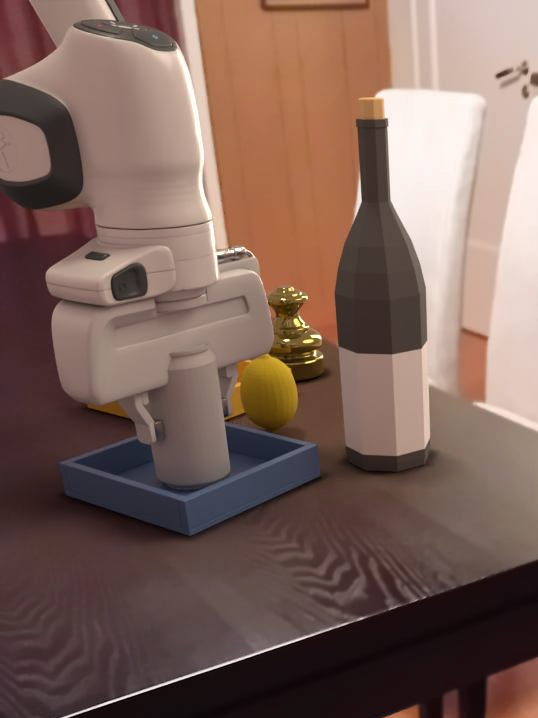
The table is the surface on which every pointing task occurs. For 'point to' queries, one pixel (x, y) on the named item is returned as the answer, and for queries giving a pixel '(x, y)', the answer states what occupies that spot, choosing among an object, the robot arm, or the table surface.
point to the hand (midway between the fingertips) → (186, 428)
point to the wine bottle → (381, 319)
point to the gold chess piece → (294, 334)
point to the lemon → (268, 393)
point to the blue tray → (191, 507)
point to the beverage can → (190, 422)
